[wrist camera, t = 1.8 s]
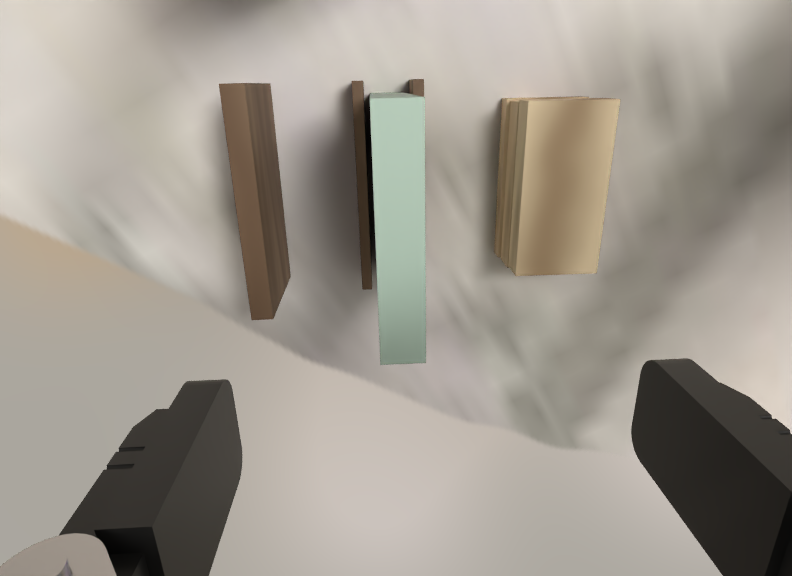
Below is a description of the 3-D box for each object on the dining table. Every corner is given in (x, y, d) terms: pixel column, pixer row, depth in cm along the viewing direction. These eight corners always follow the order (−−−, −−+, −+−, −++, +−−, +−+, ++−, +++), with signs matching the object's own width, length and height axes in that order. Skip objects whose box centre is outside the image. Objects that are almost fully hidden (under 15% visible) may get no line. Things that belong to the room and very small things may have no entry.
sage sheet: (402, 92, 32) (424, 97, 19) (405, 262, 36) (425, 362, 23) (370, 93, 32) (369, 98, 19) (377, 263, 36) (380, 364, 23)
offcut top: (606, 98, 30) (620, 99, 28) (585, 263, 33) (596, 273, 32) (519, 99, 30) (528, 101, 28) (508, 266, 33) (515, 275, 32)
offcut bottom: (577, 96, 33) (588, 96, 31) (562, 247, 37) (571, 254, 35) (499, 98, 33) (506, 98, 31) (492, 249, 37) (498, 257, 35)
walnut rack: (418, 79, 32) (431, 78, 25) (420, 271, 36) (431, 312, 30) (250, 84, 31) (218, 83, 25) (273, 277, 36) (251, 320, 29)
